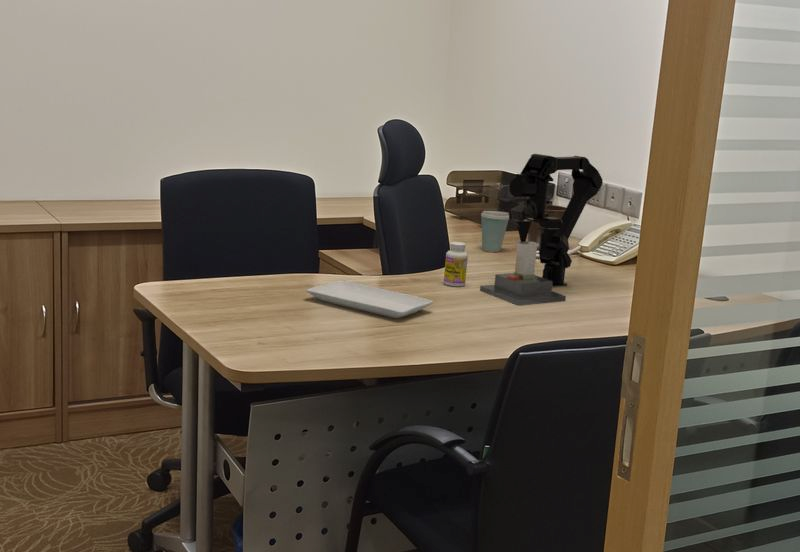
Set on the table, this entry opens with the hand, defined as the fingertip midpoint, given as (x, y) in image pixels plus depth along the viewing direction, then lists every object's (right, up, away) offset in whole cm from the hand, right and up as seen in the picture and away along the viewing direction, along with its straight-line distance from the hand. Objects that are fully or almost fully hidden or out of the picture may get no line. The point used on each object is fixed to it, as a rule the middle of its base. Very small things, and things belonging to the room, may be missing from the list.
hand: (532, 246), depth 285 cm
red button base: (-4, -15, -9) cm, 18 cm away
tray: (-49, -18, -33) cm, 62 cm away
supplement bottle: (-24, -12, 0) cm, 27 cm away
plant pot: (+15, +1, +74) cm, 75 cm away
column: (-4, -10, -10) cm, 15 cm away
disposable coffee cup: (-6, 0, +61) cm, 61 cm away
